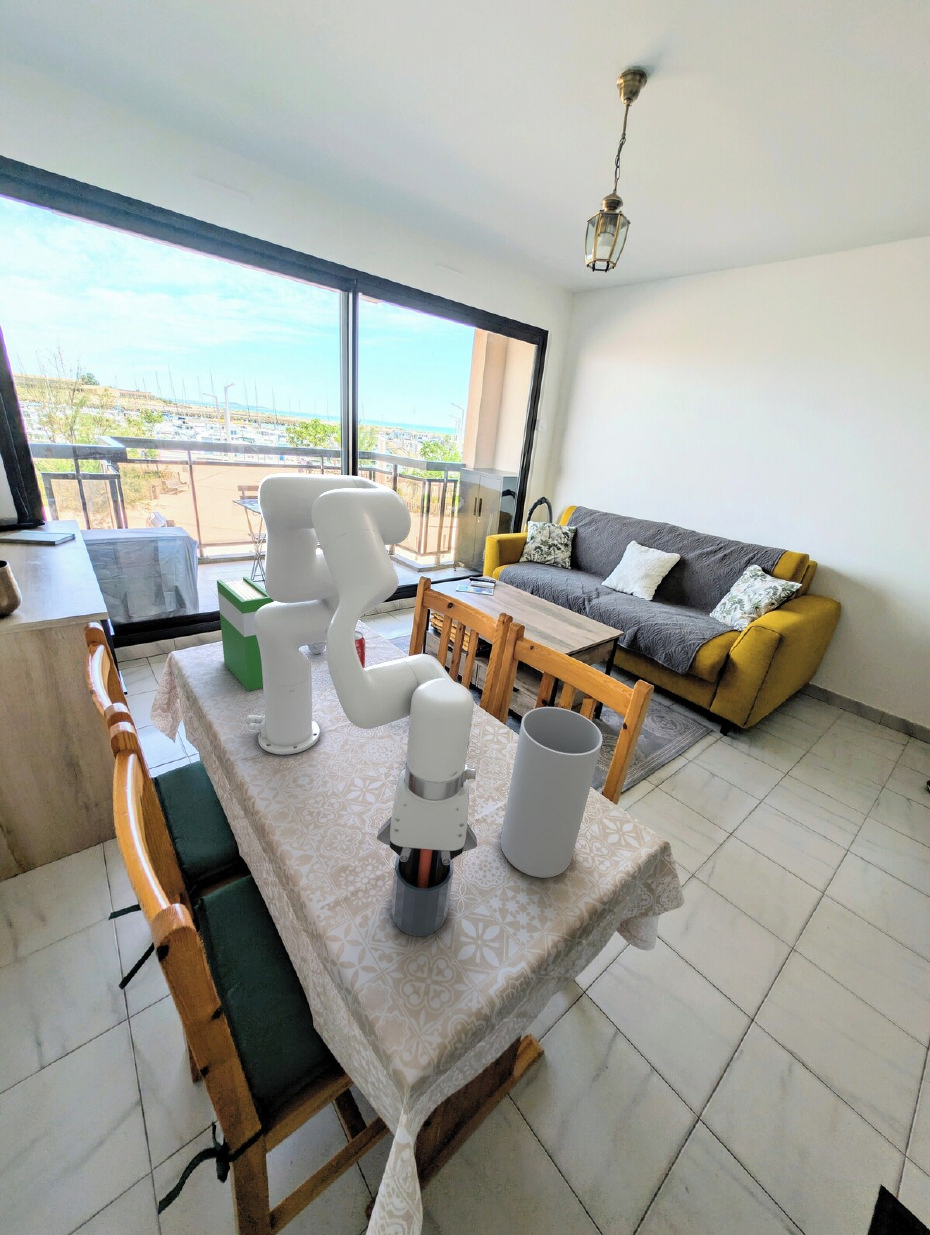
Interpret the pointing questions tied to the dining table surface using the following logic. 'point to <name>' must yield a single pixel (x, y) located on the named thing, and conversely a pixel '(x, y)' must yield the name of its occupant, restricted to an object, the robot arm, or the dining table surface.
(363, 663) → the soda can
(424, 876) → the red rod
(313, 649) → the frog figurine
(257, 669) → the hardback book
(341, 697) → the robot arm
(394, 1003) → the dining table surface
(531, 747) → the cylinder vase
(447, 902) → the glazed cup
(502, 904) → the dining table surface
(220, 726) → the dining table surface
